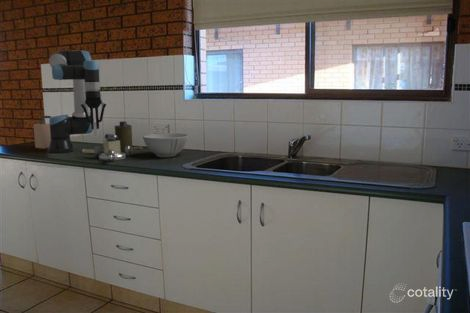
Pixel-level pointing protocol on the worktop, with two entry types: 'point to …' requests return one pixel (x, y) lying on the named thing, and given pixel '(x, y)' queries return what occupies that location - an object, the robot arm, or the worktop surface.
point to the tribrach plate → (112, 148)
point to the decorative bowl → (165, 143)
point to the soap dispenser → (42, 134)
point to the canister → (124, 135)
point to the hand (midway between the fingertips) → (95, 135)
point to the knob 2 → (131, 149)
